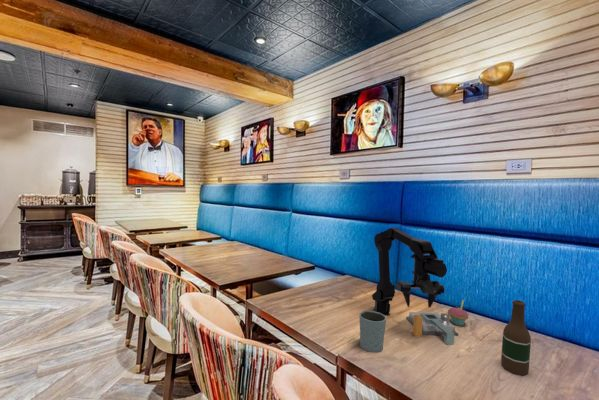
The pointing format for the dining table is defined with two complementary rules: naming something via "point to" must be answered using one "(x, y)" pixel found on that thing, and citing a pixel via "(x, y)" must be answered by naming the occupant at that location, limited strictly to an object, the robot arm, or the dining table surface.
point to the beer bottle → (516, 342)
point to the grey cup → (372, 331)
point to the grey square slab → (436, 325)
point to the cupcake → (458, 315)
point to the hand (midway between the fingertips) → (418, 307)
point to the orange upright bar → (417, 325)
